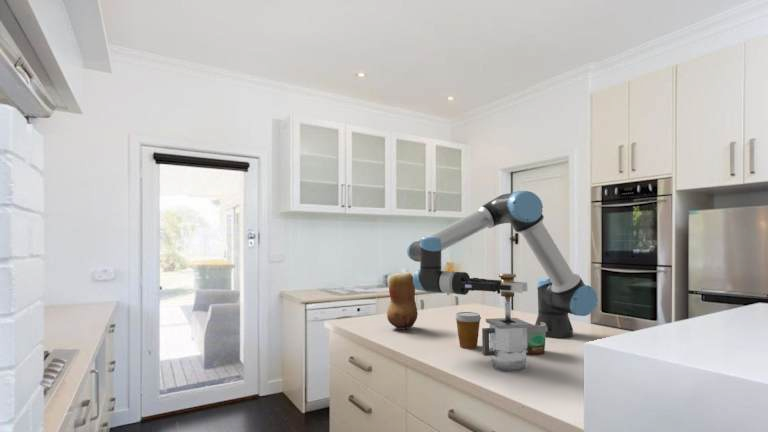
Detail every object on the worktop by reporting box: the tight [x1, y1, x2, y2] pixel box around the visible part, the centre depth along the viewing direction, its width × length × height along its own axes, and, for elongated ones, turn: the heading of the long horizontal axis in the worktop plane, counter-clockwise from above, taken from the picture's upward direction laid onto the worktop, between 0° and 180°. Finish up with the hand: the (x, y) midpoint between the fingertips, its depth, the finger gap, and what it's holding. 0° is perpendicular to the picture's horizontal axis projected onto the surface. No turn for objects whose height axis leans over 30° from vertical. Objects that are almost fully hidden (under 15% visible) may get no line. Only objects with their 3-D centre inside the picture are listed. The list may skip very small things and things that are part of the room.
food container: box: [526, 322, 548, 357], centre depth 145 cm, size 12×6×10 cm, turn 117°
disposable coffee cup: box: [454, 311, 482, 350], centre depth 155 cm, size 10×10×12 cm
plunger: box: [498, 273, 517, 323], centre depth 132 cm, size 8×8×18 cm
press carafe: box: [481, 317, 533, 373], centre depth 131 cm, size 13×10×14 cm
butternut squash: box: [386, 271, 418, 330], centre depth 185 cm, size 14×13×25 cm
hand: (524, 287), depth 129 cm, fingers closed on plunger, 4 cm apart
